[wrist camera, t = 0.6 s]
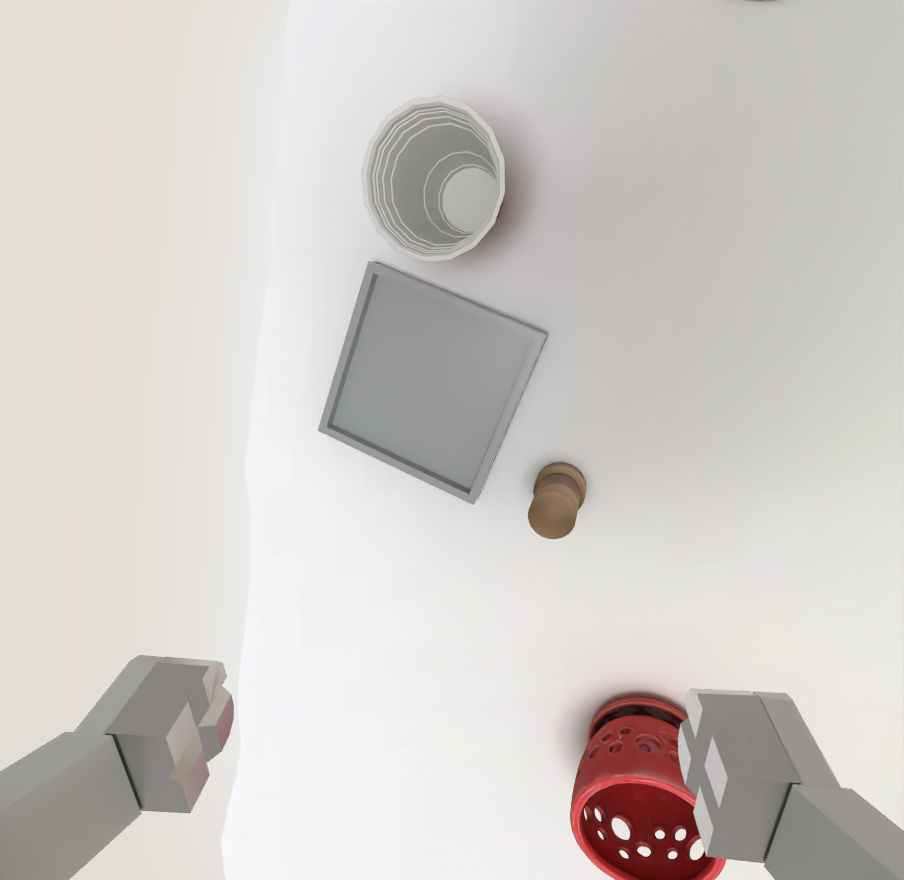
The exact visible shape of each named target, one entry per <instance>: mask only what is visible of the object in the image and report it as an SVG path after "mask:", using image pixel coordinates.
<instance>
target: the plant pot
mask: <svg viewBox="0 0 904 880" xmlns="http://www.w3.org/2000/svg"><path fill="white" fill-rule="evenodd" d="M687 718H688V717H686V716H685V715H684V714H683V713H682V712H680V711H679V710H677V709H675V708H674V707H672V706H670V705H668V704H666V703H663V702H661V701H657V700H654V699H649V698H638V697H634V698H626V699H621V700H618V701H615V702H613V703H611V704H609V705H607V706H606V707H605V708H603V709H602V710H601V711H600V712H599V713H598V714H597V715H596V717H595V718H594V720H593V722H592V724H591V726H590V730H589V738H588V741H589V744H588V746H587V747H586V749H585V751H584V754H583V756H582V759H581V761H580V764H579V767H578V771H577V775H576V779H575V783H574V789H573V795H572V802H571V811H570V821H571V827H572V831H573V834H574V837H575V839H576V841H577V843H578V845H579V846H580V848H581V849H582V851H583V852H584V853H585V855H586V856H587V857H588V858H589V859H590V860H591V861H592V862H593V863H594V864H595V865H596V866H597V867H598V868H599V869H600V870H602V871H603V872H604V873H606V874H607V875H609V876H610V877H612V878H613V879H615V880H715V879H716V878H717V876H718V875H719V874H720V872H721V871H722V869H723V867H724V865H725V862H726V859H723V858H714V857H706V854H705V851H704V853H703V855H702V856H701V858H699V859H698V860H692V859H691V858H690V849H691V847H692V845H693V844H694V843H695V842H696V841H697V840H698V839H701V837H700V834H699V830H698V827H697V824H696V820H695V817H694V813H693V812H694V807H695V803H696V799H697V797H696V796H695V795H694V794H693V793H692V792H691V791H690V789H689V788H688V787H687V786H686V785H685V782H684V779H683V775H682V772H681V767H680V761H679V755H678V735H679V729H680V724H681V723H682V722H683V721H685V720H686V719H687ZM584 808H585V811H586V814H587V820H586V819H585V816H584ZM595 808H596V809H597V810H598V811H599V812H600V814H601V822H600V821H599V820H598V819H597V818H596V816H595V812H594V810H595ZM613 818H619V819H621V820H622V821H624V822H625V823H626V824H627V826H628V827H629V830H630V838H629V840H623V839H621V838H619V837H618V836H616V835H615V833H614V831H613V829H612V825H611V823H612V819H613ZM679 829H685V830H686V837H685V839H683V840H681V841H678V840H676V839H675V834H676V832H677V831H678V830H679ZM598 830H599V831H600V832H601V833H602V835H603V838H604V840H603V839H601V838H600V836H599V835H598ZM658 830H662V831H663V832H664V833H665V837H664V838H663V839H657V838H656V836H655V832H656V831H658ZM640 846H644V847H647V848H649V849H650V850H651V854H650V855H649V856H648V857H644V856H642V855H641V854H639V853H638V852H637V849H638V848H639V847H640ZM620 850H623V851H625V852H626V853H627V854H628V856H629V858H628V859H626V858H624V857H622V856H621V855H620V853H619V851H620ZM671 851H675V852H677V853H678V855H677V857H676V858H675V859H669V858H668V854H669V853H670V852H671Z"/></svg>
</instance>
